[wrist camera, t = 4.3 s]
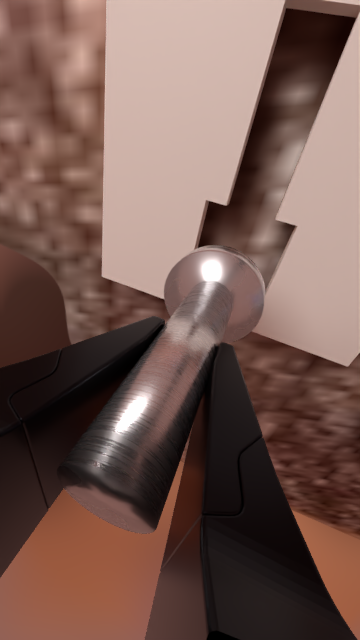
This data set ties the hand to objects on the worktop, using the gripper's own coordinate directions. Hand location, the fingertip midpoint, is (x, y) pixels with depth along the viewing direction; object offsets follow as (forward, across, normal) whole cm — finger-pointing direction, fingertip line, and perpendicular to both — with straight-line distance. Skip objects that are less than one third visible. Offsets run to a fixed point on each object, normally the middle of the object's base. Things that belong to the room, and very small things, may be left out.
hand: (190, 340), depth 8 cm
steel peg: (+4, 0, 0) cm, 4 cm away
